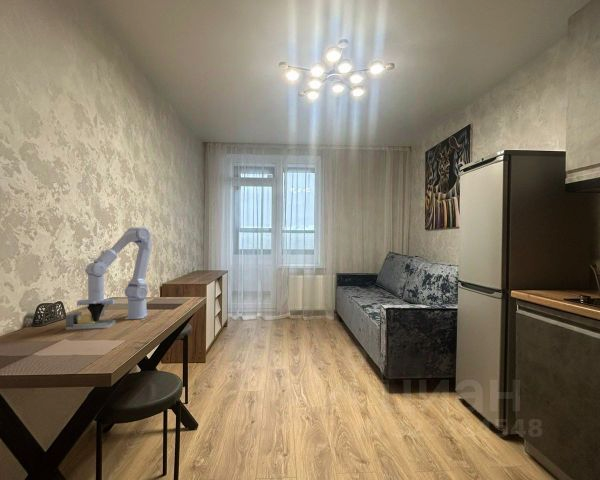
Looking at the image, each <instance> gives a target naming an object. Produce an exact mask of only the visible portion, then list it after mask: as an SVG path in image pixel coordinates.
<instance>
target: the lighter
mask: <svg viewBox="0 0 600 480" xmlns="http://www.w3.org/2000/svg"><path fill="white" fill-rule="evenodd" d="M109 306H110V304H105V306H104V307H103V309H102V312H101V314H100V317H105V316H106V309H108V307H109Z"/></svg>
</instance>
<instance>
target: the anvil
mask: <svg viewBox="0 0 600 480" xmlns="http://www.w3.org/2000/svg"><path fill="white" fill-rule="evenodd" d="M82 314H83V313H82V311H74V312H71V313H69V314H67V315H66V314H65V328H66V327H73V324H78V322H77V316H79V315H82Z"/></svg>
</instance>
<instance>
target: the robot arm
mask: <svg viewBox="0 0 600 480" xmlns="http://www.w3.org/2000/svg"><path fill="white" fill-rule="evenodd" d="M151 235H152V232H151V231H150V230H149V229H148V228H147V227H144V226H142V227H141V226H140V227H138V226H137V227H134V226H133V227H129V228H128V229H127V230H126V231H124V233H123V235H122V236H121V237H120V238H119V239H118V240H117V241H116V242H115V244H114V245H113V246H112V247H111V248H109V249H105V250H102V251H101V254H100V255H99V256H98V257H97V258H95V259H93V262H91V263H89V264H88V265H87V266H86V268H85V269H84V272H85V274H86V275H87V288H88V290H87V291H88V293H87V294H88V295H87V297H88V299H81V300H80V299H79V300H77V301H76V306H87V310H88V311H89V314H91V315H92V317H93V321H94V322H97V321H99V320H100V317H101V316H100V314H101V312H102V309H103V307H105V305H106V304H109V305H115V304H116V298H115V299H114V298H112V299H111V298H105V296H104V295H105V294H104V293H105V291H104V290H105V289H104V288H105V287H104V285H105V283H104V277H105V276H104V274H105V275H106V273H107V271H108V270H107V269H108V268H109V266H110V265H112V263H114V262H115V260H116V259H117V258H118V256H117V255H118V254H119V253H120V252H121V251H122V250H123V249H124V248H125V247H126V246H127V245H128V244H129V243H132V242H133V243H134V244H135V245H137V247H138V251H137V255H136V258H135V259H136V260H135V264H134V270H133V273H132V278H131V279H130V280H129V282H128V283H127V286H126V287H125V288H124V294H125V296H126V298H127V316H126V317H125V318H124V320H142V319H144V318H145V317H147V316H148V315H149V312H148V311H147V300H146V297H147V296H148V293H149V291H148V283H147V282H146V280H145V279H146V275H147V269H148V267H149V266H148V265H149V260H150V255H151V250H152V240H151Z"/></svg>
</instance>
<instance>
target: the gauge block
mask: <svg viewBox="0 0 600 480" xmlns="http://www.w3.org/2000/svg"><path fill="white" fill-rule="evenodd" d="M81 314H82V315H79V316H77V322H78V324H84V323H95V322H94V321H93V317H92V315H91V313H81Z"/></svg>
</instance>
